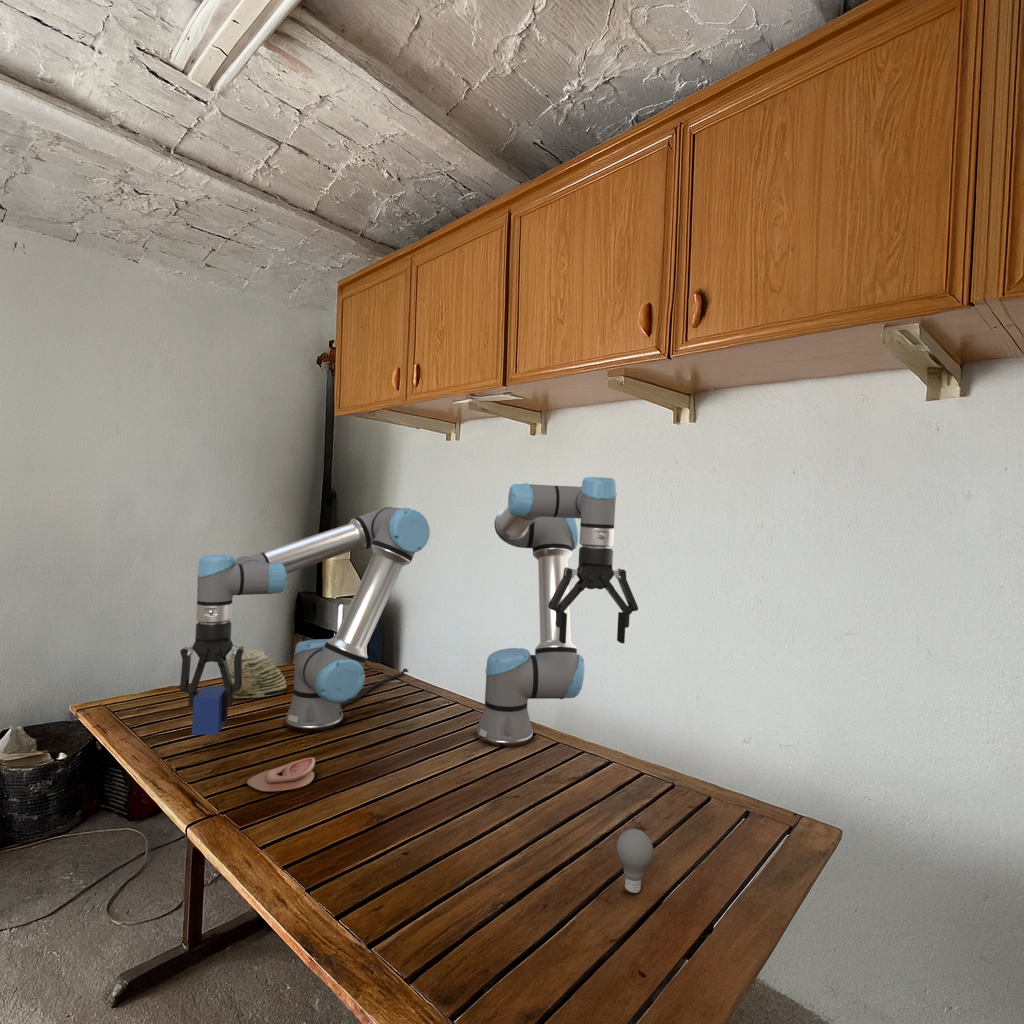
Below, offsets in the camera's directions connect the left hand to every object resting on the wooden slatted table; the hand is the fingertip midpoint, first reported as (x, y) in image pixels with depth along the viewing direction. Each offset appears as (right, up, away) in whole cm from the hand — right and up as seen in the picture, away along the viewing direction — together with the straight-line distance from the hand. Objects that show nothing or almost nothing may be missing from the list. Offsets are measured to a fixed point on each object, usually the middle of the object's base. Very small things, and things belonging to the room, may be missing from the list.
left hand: (210, 720), depth 148 cm
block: (0, -2, 0) cm, 2 cm away
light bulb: (+91, -15, -42) cm, 101 cm away
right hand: (+88, +20, -7) cm, 91 cm away
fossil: (-10, -9, +50) cm, 52 cm away
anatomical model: (+20, -11, -8) cm, 24 cm away
